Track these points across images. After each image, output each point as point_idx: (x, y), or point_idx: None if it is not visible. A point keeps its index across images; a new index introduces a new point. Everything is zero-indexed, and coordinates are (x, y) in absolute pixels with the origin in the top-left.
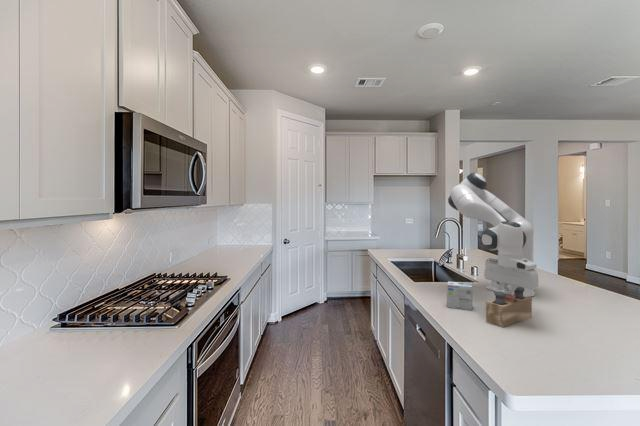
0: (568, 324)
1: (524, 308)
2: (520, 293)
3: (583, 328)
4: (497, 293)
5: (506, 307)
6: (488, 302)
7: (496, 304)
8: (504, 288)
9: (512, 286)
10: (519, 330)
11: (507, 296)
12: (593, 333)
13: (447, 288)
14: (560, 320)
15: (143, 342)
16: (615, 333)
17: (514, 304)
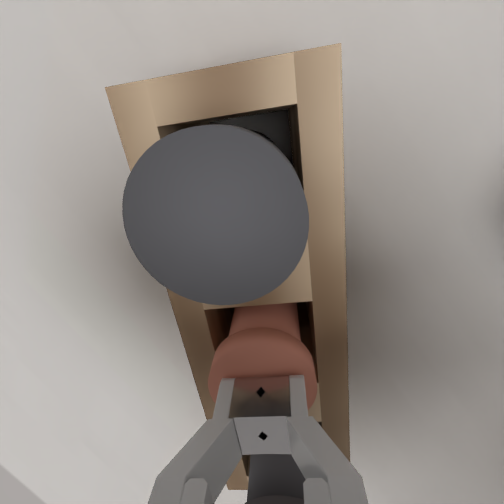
0: (125, 414)
1: None
2: (253, 484)
3: (80, 418)
4: (209, 153)
5: (129, 147)
6: (313, 56)
7: (208, 87)
8: (310, 434)
9: (180, 502)
10: (116, 157)
11: (248, 341)
12: (33, 402)
13: None
14: (168, 429)
15: None
16: (26, 448)
17: (171, 292)
